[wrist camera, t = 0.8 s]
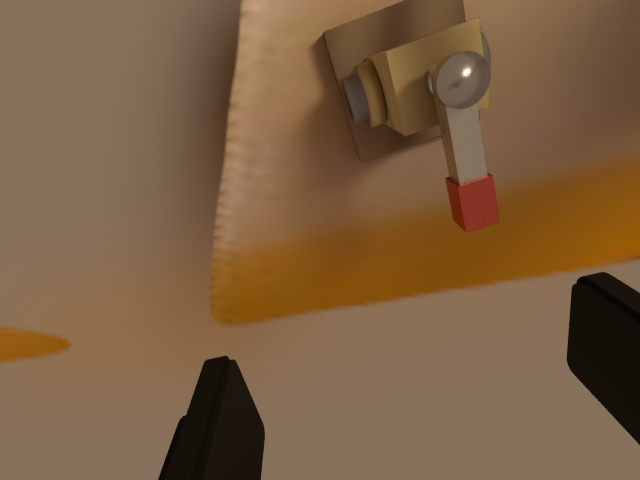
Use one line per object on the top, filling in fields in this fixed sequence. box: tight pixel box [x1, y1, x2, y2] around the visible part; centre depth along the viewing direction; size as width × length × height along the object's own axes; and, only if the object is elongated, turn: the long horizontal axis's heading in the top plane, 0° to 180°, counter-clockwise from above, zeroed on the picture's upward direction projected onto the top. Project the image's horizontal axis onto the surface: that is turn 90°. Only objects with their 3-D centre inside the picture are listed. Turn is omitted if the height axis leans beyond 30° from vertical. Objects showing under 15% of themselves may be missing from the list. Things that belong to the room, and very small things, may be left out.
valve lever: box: [425, 51, 499, 233], centre depth 20 cm, size 10×3×3 cm, turn 19°
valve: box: [322, 0, 490, 162], centre depth 25 cm, size 10×10×9 cm
